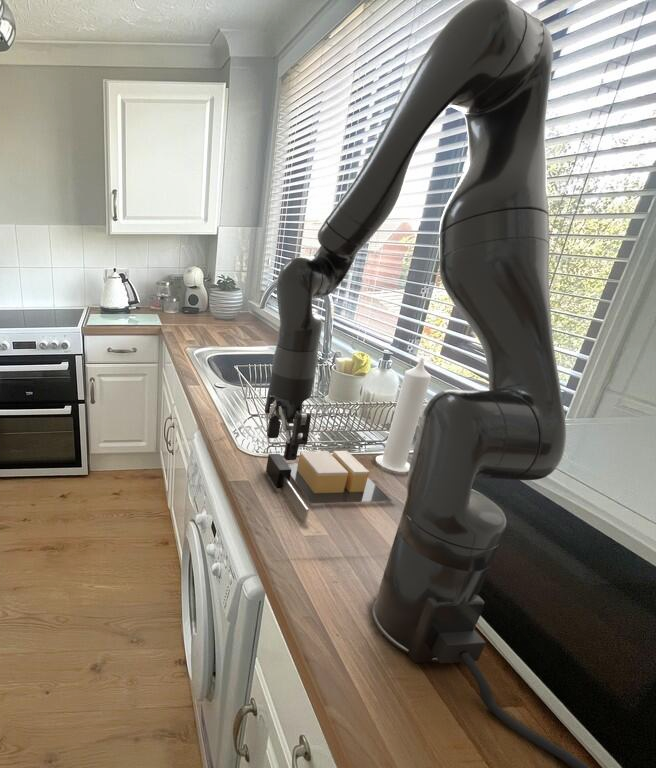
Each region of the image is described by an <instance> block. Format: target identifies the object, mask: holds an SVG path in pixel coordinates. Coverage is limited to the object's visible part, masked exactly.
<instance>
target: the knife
mask: <svg viewBox="0 0 656 768" xmlns="http://www.w3.org/2000/svg"><path fill="white" fill-rule="evenodd" d="M267 455H268V456H267V462H266V468H265V473H266V475H267V476H268V477H269V479H270V481H271V482H272V484H273V486H275V488H276V489H281V490H282V492H283V493H284V494H285V496H286V497H287V499H288V501H289V502H290V504H291V505H292V507H293V508H294V510H295V511H296V513H297V515H298V516H299V517H300V519H301V520H302V522H303V523H307V520H308V514H309V508H308V506H307V505H306V504H305V502H304V500H303V499H302V497H300V495H299V494H298V492H297V491H296V489H295V487H293V485H292V483H291V482H290V479H291V468H290V467H289V466H288V464H287V463H288V462H286V460H285V458H284V457H282V455H281V454H280V453H268V454H267Z"/></svg>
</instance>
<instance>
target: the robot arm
mask: <svg viewBox="0 0 656 768" xmlns="http://www.w3.org/2000/svg"><path fill="white" fill-rule="evenodd" d="M553 61H554V39H553V36H552V33H551V32H550V30H549V28H548V27H547V25H546V23H544V22H543V21H542V20H540V19H539V18H538V17H536V16H534V15H532V14H531V13H530V12H527V11H526V10H525V9H523V8H522V7H521V6H519V5H518V4H516V3H514V2H513V1H511V0H473V1H471V2H469V3H468V4H467V5H465V6H463V7H462V8H460V10H459V11H457V13H455V15H453V16H452V17H451V18H450V19H449V21H448V22H447V23H446V25H445V26H444V27H443V28H442V29H441V31H439V33H438V35H437V36H436V37H435V39H434V40H433V42H432V43H431V45H430V47H428V49H427V51H426V53H425V54H424V56H423V57H422V59H421V61H420V63H419V64H418V66H417V68H416V69H415V71H414V74H413V75H412V77H411V79H410V81H409V83H408V85H407V86H406V88H405V89H404V91H403V93H402V95H401V97H400V98H399V100H398V102H397V104H396V106H395V107H394V109H393V111H392V113H391V115H390V117H389V118H388V120H387V122H386V124H385V126H384V127H383V130H382V131H381V133H380V134H379V137H378V139H377V141H376V143H375V144H374V146H373V148H372V150H371V152H370V153H369V155H368V157H367V159H366V160H365V162H364V164H363V166H362V167H361V169H360V170H359V172H358V174H357V175H356V177H355V178H354V180H353V181H352V183H350V186H349V187H348V188H347V190H346V192H345V193H344V194H343V196H342V197H341V198H340V199H339V201H338V202H337V203H336V205H335V206H334V207H333V209H332V210H331V211H330V213H329V214H328V215H327V217H326V218H325V220H324V221H323V222H322V224H321V226H320V228H319V229H318V232H317V241H318V243H319V245H320V246H319V248H318V250H317V251H316V252H315V254H314V255H313V256H297V257H293V258H290V259H289V260H287V261H286V262H285V263H284V264H283V265H282V267H281V268H280V271H279V272H278V275H277V278H276V287H275V289H276V299H277V308H278V316H279V317H278V318H279V327H278V334H277V339H276V347H275V351H274V354H273V358H272V366H271V373H270V380H269V387H268V390H267V396H266V401H265V407H264V413H265V414H267V420H268V425H267V432H266V436H267V437H268V439H277V438H279V436H280V430H281V428H282V430H283V431H284V432H285V439H286V441H285V446H284V452H283V459H284V460H285V461H296V460H297V457H298V451H299V446H307V445H308V440H309V433H310V427H311V420H312V414H311V413H310V412H303V403H304V402H305V401H306V400H309V399H310V398H311V397H312V394H313V388H314V382H315V377H316V372H317V366H318V354H319V347H320V341H321V335H322V329H323V321H322V320H323V319H322V318H321V317H320V316H319V315H317V314H315V313H313V300H315V299H316V300H317V299H322V298H325V297H327V296H328V295H330V294H332V293H333V292H334V291H335V290H336V289H338V287H339V286H340V284H341V283H343V281H344V279H345V277H346V276H347V274H348V272H349V271H350V269H351V267H352V266H353V264H354V262H355V260H356V258H357V255H358V254H359V252H360V251H361V250H362V249H363V248H364V247H365V245H366V244H367V243H368V242H369V241H370V239H371V238H372V237H373V236H374V235H375V234H376V232H377V231H378V230H379V229H380V228H381V227H382V226H383V224H384V223H385V222H386V221H387V219H388V218H389V217H390V215H391V214H392V212H393V210H394V209H395V207H396V205H397V203H398V200H399V199H400V196H401V194H402V191H403V188H404V184H405V182H406V177H407V175H408V171H409V168H410V166H411V162H412V161H413V157H414V155H415V153H416V151H417V148H418V147H419V145H420V143H421V141H422V140H423V138H424V137H425V135H426V134H427V132H429V131H428V130H429V129H430V128H431V127H432V125H433V124H434V123H435V121H436V120H437V119H438V118H439V117H440V115H442V114H443V112H444V111H445V110H446V109H447V108H448V107H450V108H453V109H454V110H457V111H458V112H461V114H462V115H463V117H464V119H465V125H466V132H467V162H466V167H465V170H464V173H463V174H462V176H461V179H459V182H458V183H457V185H456V186H455V188H454V190H453V192H452V193H451V195H450V197H449V199H448V201H447V202H446V204H445V207H444V210H443V212H442V215H441V219H440V222H439V231H438V237H439V239H438V270H439V277H440V281H441V283H442V285H443V288H444V290H445V292H446V293H447V296H448V297H449V299H450V301H452V303H453V305H454V306H455V307H456V309H457V310H458V312H459V313H460V315H461V316H462V317H463V318H464V320H465V321H466V322H467V324H468V325H469V327H470V328H471V329H472V331H473V333H474V334H475V336H476V338H477V339H478V341H479V343H480V346H481V348H482V350H483V353H484V356H485V359H486V360H485V362H486V367H487V368H486V369H487V375H488V390H484V389H483V390H482V389H462V388H461V389H459V388H455V389H454V388H453V389H452V388H451V389H445V390H442V391H441V390H440V391H439V392H438V393H436V394H435V395H434V396H433V397H431V398H430V400H429V401H428V402H427V404H426V406H425V407H424V410H423V411H422V415H421V418H420V419H419V420H420V421H419V423H418V427H417V428H418V429H417V433H416V436H415V437H416V438H415V443H414V447H413V452H412V457H411V460H410V463H409V464H410V468H409V471H408V473H407V483H406V484H407V485H406V487H407V492H406V493H407V494H406V499H405V503H404V507H403V509H402V513H401V516H400V519H399V523H398V526H397V529H396V532H395V535H394V539H393V542H392V544H391V549H390V552H389V555H388V559H387V561H386V565H385V569H384V571H383V575H382V578H381V581H380V584H379V589H378V593H377V595H376V599H375V601H374V602H373V605H372V610H371V614H372V615H371V616H372V618H373V621H374V625H375V626H376V627H377V629H378V630H379V632H380V633H381V634H382V635H383V637H384V638H385V639H386V640H387V641H389V643H390V644H392V645H393V646H394V647H395V648H397V649H398V650H400V651H402V652H403V653H405V654H406V655H407V656H408V657H409V658H410V659H411V661H412V662H413V663H415V664H423V663H440V664H451V663H453V664H454V663H464V665H465V666H466V667H467V670H468V671H469V672H470V673H471V675H472V677H473V679H474V680H475V682H476V684H477V686H478V689H479V693H480V697H481V700H482V701H483V703H484V705H485V706H486V707H487V708H488V710H489V711H491V713H492V714H493V715H494V716H495V717H496V718H497V719H498V720H499V721H500V722H501V723H503V724H504V725H506V726H507V727H508V728H510V729H511V730H513V731H514V732H515V733H517V734H519V735H520V736H522V738H525V739H526V740H528V741H529V742H531V743H532V744H534V745H536V747H539V748H540V749H542V750H544V751H546V752H547V753H549V754H551V755H552V756H554V757H555V758H557V759H559V760H561V761H562V762H564V763H565V764H566V765H568V766H569V767H571V768H591V767H590V766H589V765H588V764H587V763H585V762H584V761H582V760H581V759H579V758H578V757H577V756H575V755H573V754H572V753H570V752H569V751H567V750H566V749H564V748H562V747H560V746H559V745H557V744H555V743H554V742H552V741H550V740H549V739H547V738H545V737H543V736H541V735H540V734H538V733H536V732H534V731H533V730H531V729H529V728H528V727H526V726H525V725H523V724H521V723H520V722H518V721H517V720H516V719H514V718H513V717H511V715H510V714H508V713H507V712H506V711H505V710H503V709H502V708H501V707H500V706H499V704H498V703H496V700H494V698H493V693H492V689H491V686H490V684H489V683H488V680H487V679H486V677H485V675H484V674H483V672H482V671H481V669H480V668H479V666H478V665H477V663H476V662H478V661H479V659H480V657H481V655H482V652H483V650H484V648H485V646H486V644H487V642H486V640H484V639H483V637H482V636H481V635H480V634H479V633H478V631H477V630H475V628H476V626H477V624H478V621H479V619H480V617H481V615H482V612H483V610H484V607H485V605H486V602H485V600H483V598H482V597H481V596H480V595H479V593H480V591H481V589H482V586H483V584H484V581H485V579H486V577H487V574H488V572H489V570H490V567H491V564H492V562H493V561H494V557H495V555H496V553H497V551H498V549H499V546H500V543H501V542H502V539H503V537H504V535H505V532H506V529H507V517H506V515H505V512H504V511H503V510H502V508H501V507H500V506H498V504H496V503H495V502H494V501H492V500H491V499H490V498H489V497H487V496H486V495H484V494H483V493H481V492H479V491H477V490H475V489H473V486H474V482H475V479H476V478H479V479H495V480H515V481H536V480H541V479H544V478H546V477H548V476H550V475H551V474H552V473H554V471H556V469H557V468H558V467H559V465H560V463H561V461H562V460H563V457H564V454H565V449H566V443H567V425H566V413H565V407H564V400H563V395H562V387H561V383H560V377H559V371H558V364H557V359H556V351H555V345H554V338H553V337H554V336H553V327H552V325H553V324H552V312H551V311H552V309H551V296H550V294H551V293H550V267H549V266H550V214H549V201H548V181H547V151H546V150H547V149H546V121H547V111H548V102H549V95H550V86H551V79H552V71H553ZM291 424H292V425H291Z"/></svg>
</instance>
